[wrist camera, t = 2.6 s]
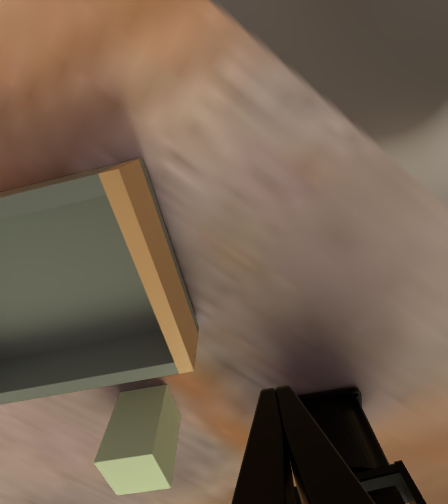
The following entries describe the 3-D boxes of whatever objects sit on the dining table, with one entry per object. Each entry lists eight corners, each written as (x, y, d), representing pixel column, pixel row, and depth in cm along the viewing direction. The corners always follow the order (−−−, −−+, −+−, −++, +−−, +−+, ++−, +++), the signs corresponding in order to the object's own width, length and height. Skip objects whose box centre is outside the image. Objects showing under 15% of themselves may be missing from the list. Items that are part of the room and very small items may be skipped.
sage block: (166, 384, 26) (152, 454, 21) (180, 416, 28) (170, 487, 22) (120, 392, 26) (93, 462, 21) (137, 423, 28) (116, 495, 23)
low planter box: (144, 156, 18) (118, 168, 13) (199, 322, 23) (193, 370, 18) (-111, 219, 19) (-212, 249, 15) (-4, 360, 24) (-55, 413, 20)
